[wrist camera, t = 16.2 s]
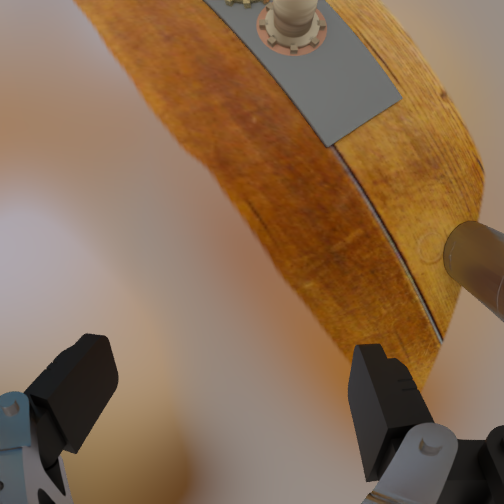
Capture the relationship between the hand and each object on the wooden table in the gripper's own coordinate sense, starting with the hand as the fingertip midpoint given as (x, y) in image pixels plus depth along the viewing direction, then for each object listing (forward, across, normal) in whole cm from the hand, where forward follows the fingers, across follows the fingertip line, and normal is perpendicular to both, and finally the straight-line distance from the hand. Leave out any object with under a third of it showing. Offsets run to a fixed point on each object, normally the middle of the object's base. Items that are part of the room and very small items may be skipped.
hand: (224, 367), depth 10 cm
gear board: (+32, -4, -23) cm, 40 cm away
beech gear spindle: (+31, -4, -23) cm, 38 cm away
